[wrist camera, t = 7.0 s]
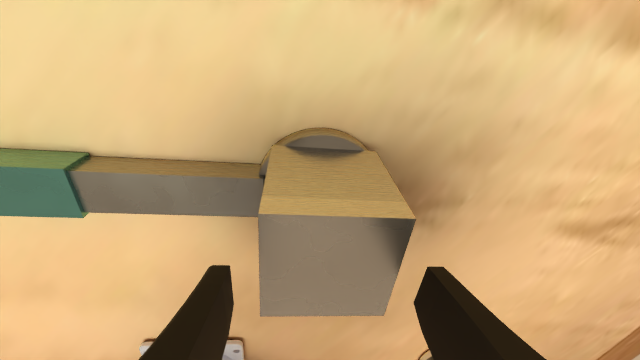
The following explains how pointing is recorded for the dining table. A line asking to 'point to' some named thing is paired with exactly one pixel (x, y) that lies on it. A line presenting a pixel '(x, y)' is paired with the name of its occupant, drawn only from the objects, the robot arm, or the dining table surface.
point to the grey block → (329, 233)
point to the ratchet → (141, 182)
